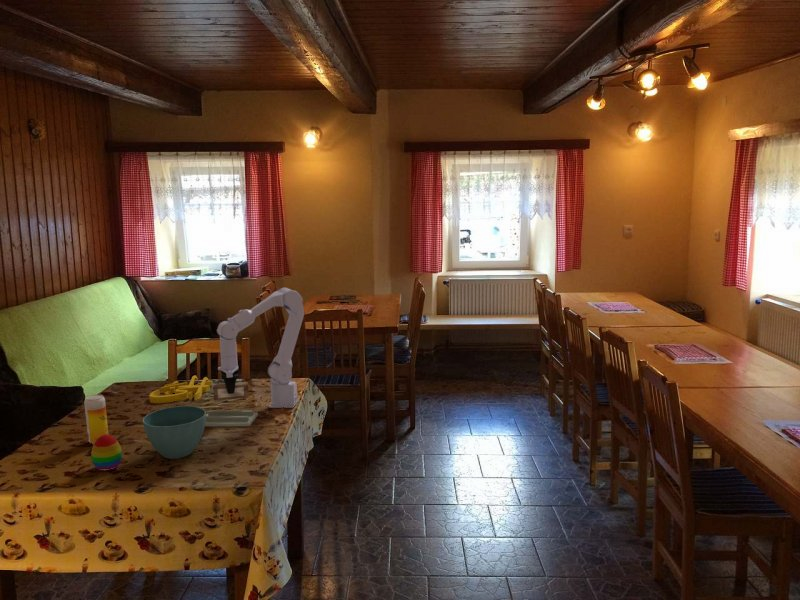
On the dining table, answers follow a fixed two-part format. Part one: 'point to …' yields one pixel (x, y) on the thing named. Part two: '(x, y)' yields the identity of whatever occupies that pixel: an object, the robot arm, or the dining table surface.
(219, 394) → the brown box
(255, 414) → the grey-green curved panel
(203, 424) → the teal bowl
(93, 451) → the decorative egg
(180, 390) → the decorative art
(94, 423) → the yellow bottle
